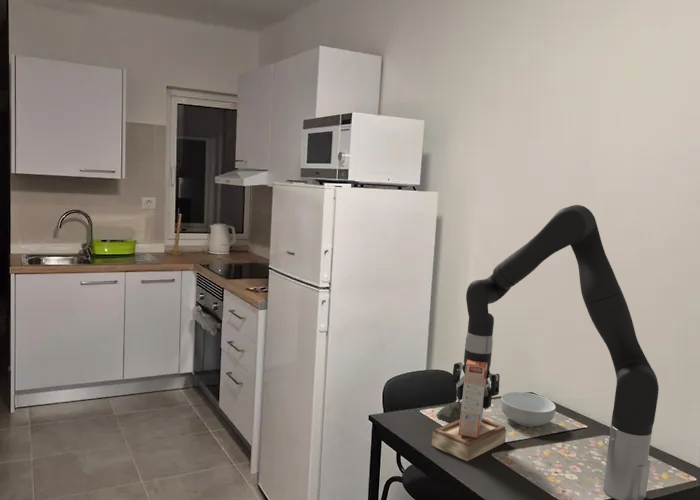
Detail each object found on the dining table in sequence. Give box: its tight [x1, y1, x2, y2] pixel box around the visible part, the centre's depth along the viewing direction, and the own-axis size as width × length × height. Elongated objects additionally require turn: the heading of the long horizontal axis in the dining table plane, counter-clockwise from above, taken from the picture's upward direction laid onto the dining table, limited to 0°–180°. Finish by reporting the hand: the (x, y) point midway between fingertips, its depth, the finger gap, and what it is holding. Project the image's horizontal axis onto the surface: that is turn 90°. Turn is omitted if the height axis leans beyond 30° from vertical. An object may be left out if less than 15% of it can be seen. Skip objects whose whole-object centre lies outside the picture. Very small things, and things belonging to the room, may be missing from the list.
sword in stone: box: [436, 399, 462, 424], centre depth 195 cm, size 10×8×12 cm
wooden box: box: [431, 417, 507, 462], centre depth 177 cm, size 12×20×5 cm, turn 136°
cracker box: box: [459, 360, 487, 438], centre depth 175 cm, size 14×6×21 cm, turn 164°
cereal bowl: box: [500, 391, 557, 428], centre depth 197 cm, size 17×17×7 cm
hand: (473, 403), depth 176 cm, fingers open, 8 cm apart
